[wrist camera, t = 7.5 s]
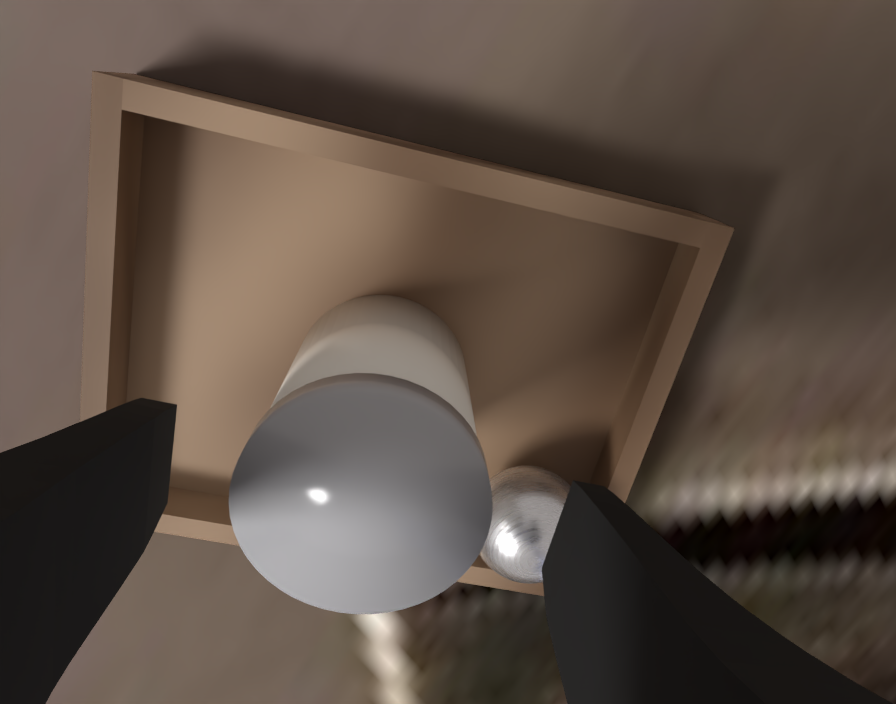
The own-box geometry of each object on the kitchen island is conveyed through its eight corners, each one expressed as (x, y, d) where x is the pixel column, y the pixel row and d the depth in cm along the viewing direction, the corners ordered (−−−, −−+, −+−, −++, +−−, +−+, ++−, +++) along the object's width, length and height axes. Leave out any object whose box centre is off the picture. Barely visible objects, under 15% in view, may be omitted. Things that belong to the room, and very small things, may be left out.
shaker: (488, 313, 16) (523, 421, 11) (446, 466, 18) (457, 631, 12) (308, 272, 16) (246, 367, 10) (280, 435, 17) (214, 592, 12)
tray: (699, 213, 16) (734, 228, 15) (570, 556, 20) (585, 602, 18) (133, 73, 15) (92, 70, 13) (110, 476, 19) (76, 518, 17)
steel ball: (585, 455, 18) (615, 521, 15) (554, 541, 19) (576, 618, 16) (481, 435, 18) (492, 499, 15) (456, 524, 19) (461, 599, 16)
